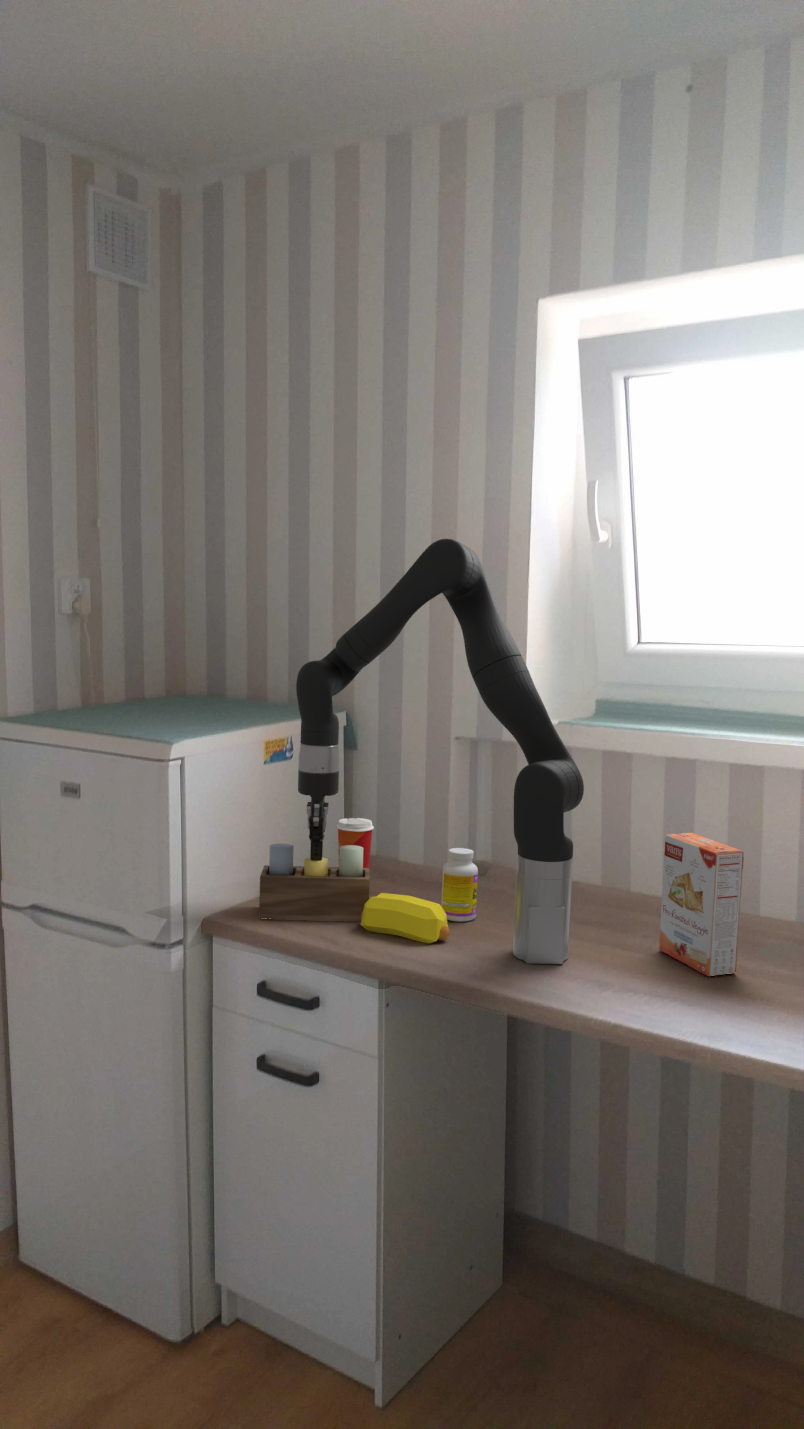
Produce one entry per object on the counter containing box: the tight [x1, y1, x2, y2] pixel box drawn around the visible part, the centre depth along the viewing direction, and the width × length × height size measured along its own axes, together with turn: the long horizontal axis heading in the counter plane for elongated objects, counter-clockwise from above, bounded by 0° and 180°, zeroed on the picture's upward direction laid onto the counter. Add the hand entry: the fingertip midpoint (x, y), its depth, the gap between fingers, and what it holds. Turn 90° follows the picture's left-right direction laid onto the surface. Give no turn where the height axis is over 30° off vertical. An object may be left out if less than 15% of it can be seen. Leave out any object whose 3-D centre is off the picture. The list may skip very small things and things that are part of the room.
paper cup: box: [336, 817, 375, 869], centre depth 216 cm, size 8×8×14 cm
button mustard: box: [303, 856, 329, 876], centre depth 197 cm, size 4×4×6 cm
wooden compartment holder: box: [258, 865, 371, 923], centre depth 197 cm, size 8×20×8 cm, turn 92°
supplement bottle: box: [440, 847, 479, 923], centre depth 198 cm, size 7×7×13 cm
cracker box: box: [658, 832, 745, 977], centre depth 176 cm, size 14×6×21 cm, turn 21°
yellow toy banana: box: [360, 892, 450, 944], centre depth 187 cm, size 18×7×8 cm
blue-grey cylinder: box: [268, 843, 294, 875], centre depth 196 cm, size 4×4×6 cm
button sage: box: [338, 845, 363, 877], centre depth 197 cm, size 4×4×6 cm
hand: (316, 859), depth 196 cm, fingers closed
